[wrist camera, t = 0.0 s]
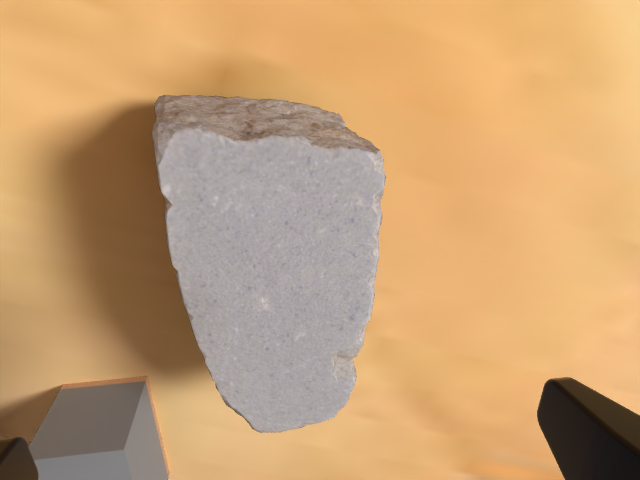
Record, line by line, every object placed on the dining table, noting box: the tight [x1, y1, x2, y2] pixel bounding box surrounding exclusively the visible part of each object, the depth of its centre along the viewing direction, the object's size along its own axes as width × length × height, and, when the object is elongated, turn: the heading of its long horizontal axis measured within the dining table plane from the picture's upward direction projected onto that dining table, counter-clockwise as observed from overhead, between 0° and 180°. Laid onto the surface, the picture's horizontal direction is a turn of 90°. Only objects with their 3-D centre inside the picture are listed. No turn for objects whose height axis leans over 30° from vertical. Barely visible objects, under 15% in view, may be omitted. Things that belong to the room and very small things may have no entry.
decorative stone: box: [152, 95, 386, 433], centre depth 19 cm, size 15×7×10 cm
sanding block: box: [29, 376, 169, 480], centre depth 24 cm, size 8×4×5 cm, turn 1°
